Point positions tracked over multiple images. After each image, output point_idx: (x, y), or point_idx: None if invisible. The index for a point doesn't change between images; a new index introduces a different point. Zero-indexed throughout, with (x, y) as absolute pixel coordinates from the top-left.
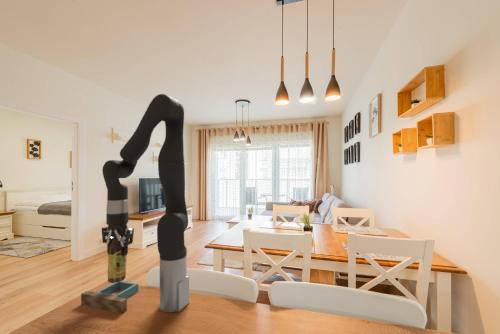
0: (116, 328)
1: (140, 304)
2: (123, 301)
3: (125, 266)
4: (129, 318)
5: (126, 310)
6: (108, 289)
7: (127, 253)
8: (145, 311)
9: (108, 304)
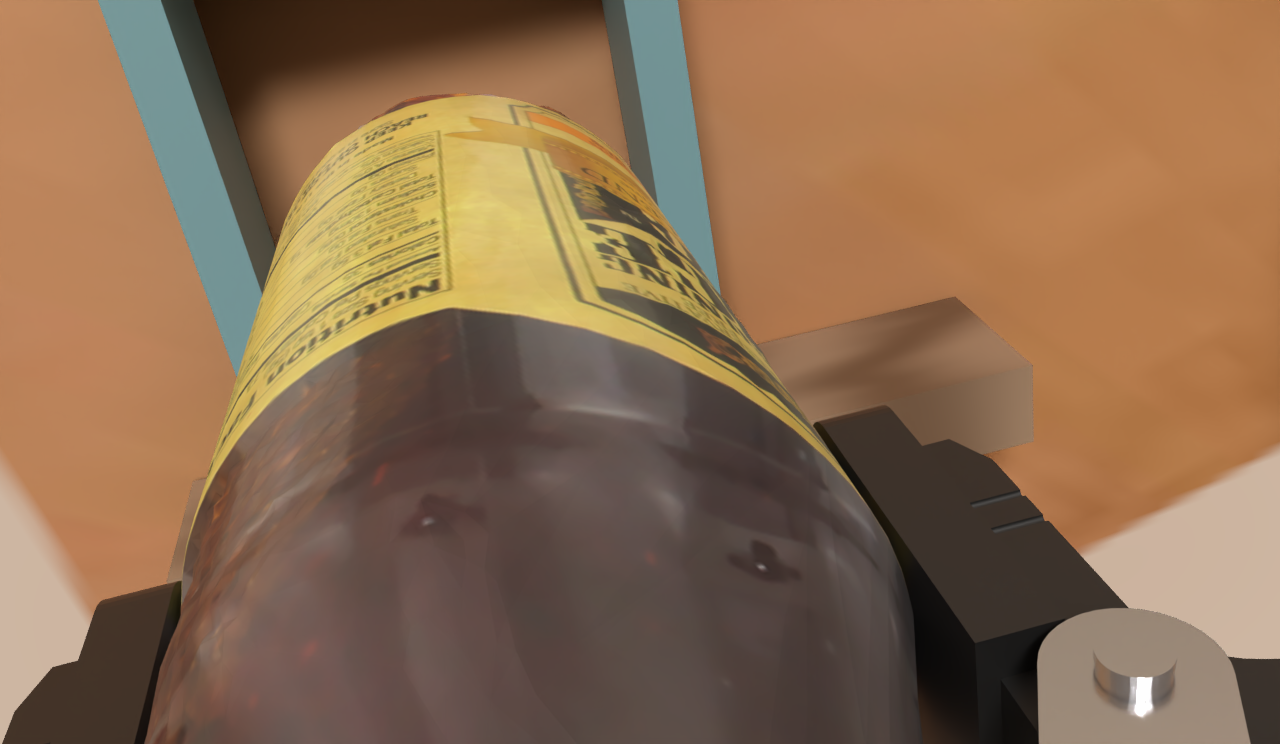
0: (1119, 520)
1: (1013, 107)
2: (1026, 412)
3: (688, 250)
4: (1117, 366)
5: (954, 300)
6: (252, 235)
7: (956, 443)
8: (1200, 181)
9: None
